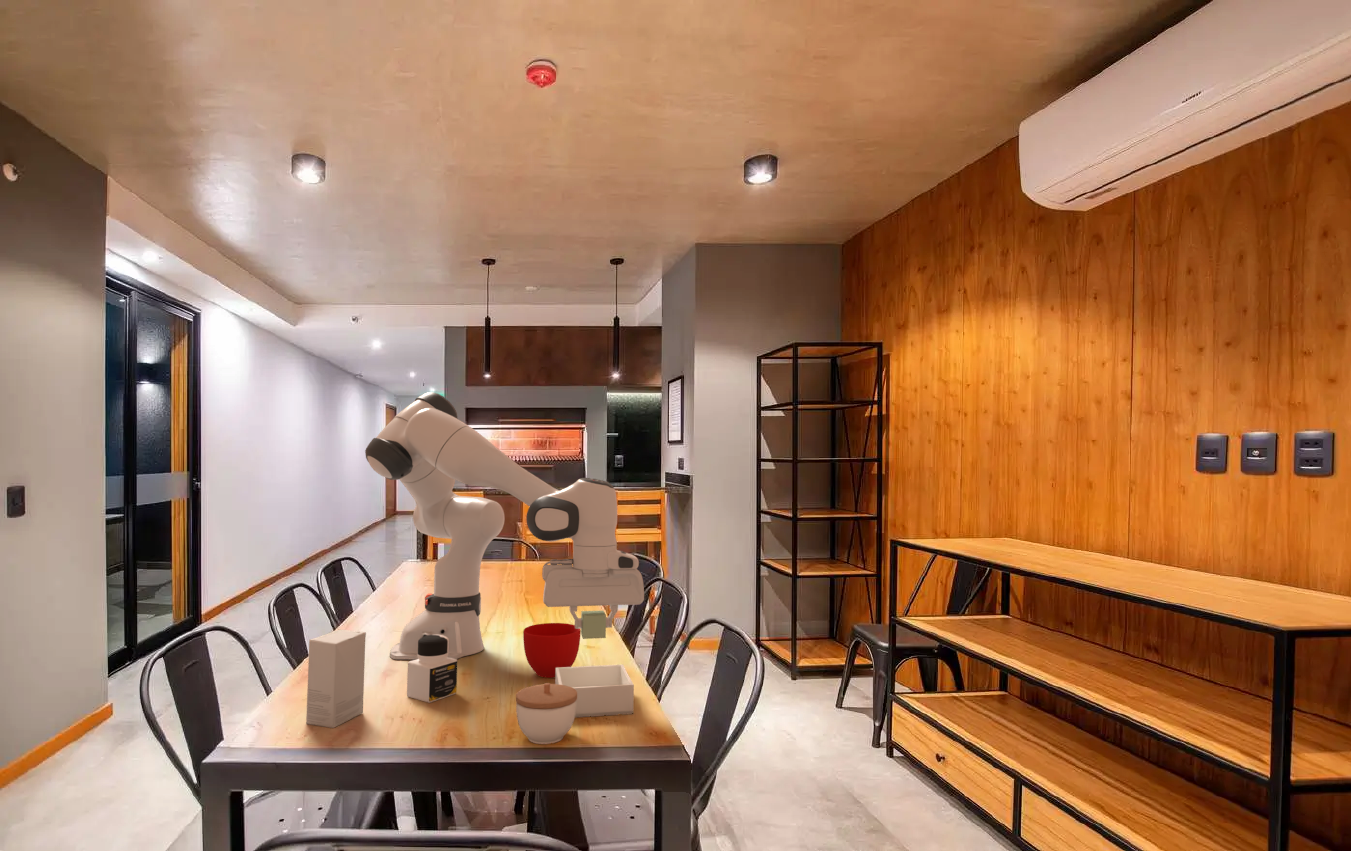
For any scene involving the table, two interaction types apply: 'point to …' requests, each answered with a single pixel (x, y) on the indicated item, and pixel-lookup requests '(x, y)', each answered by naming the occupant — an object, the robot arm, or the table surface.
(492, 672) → the table surface
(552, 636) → the ceramic cup
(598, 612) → the sage cube
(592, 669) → the tub
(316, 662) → the skincare box
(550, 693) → the lidded jar
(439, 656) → the medicine bottle
